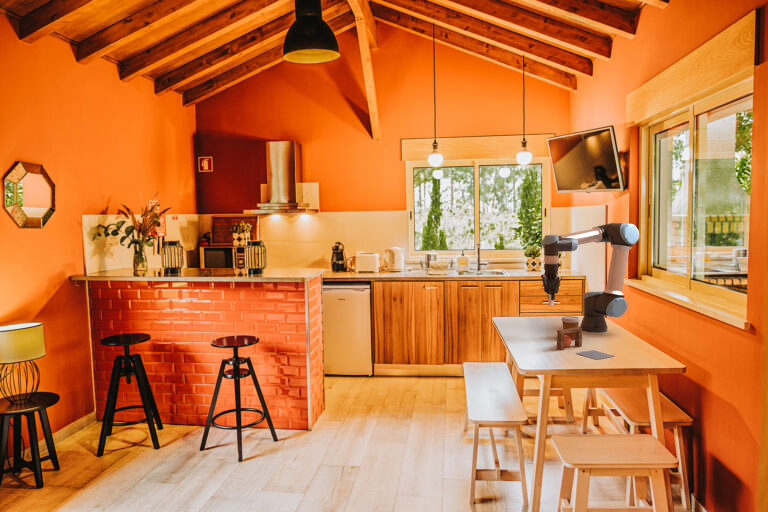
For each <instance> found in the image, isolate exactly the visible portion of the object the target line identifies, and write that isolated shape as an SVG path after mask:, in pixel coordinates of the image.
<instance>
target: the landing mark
mask: <svg viewBox="0 0 768 512" xmlns="http://www.w3.org/2000/svg"><path fill="white" fill-rule="evenodd" d="M575 353H576V354H575V355H578V354H579V355H578V356H581V355H582V357H585V358H588V357H589V359H592V360H596V361H598V359H599V360H604V358H605V359H609V358H608V357H610V358H615V357H614V356H615V355H613V354H609V353H605V352H602V351H598V350H594V349H592V350H591V349H590V350H586V351H580V352H575Z"/></svg>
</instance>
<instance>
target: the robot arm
mask: <svg viewBox="0 0 768 512" xmlns="http://www.w3.org/2000/svg"><path fill="white" fill-rule="evenodd" d="M639 239H640V231H639V229H638V228H637V226H636V225H635V224H633V223H627V222H624V223H623V222H621V223H620V222H617V223H616V222H612V223H611V222H609V223H606V224H602V225H598V226H597V225H596V226H594V227H592V228H590V229H586V230H581V231H575V232H570V233H566V234H560V235H558V234H545V236H544V237H543V239H542V241H541V246H542V248H543V263H544V264H543V269H544V273H543V274H541V275H540V278H541V279H542V285H543V290H544V293H546V294H547V300H548V304H547V305H548V307H554V306H555V299H556V294H558V293H559V290H560V285H561V281H562V279H563V276H561V275H559V273H558V271H559V253H561V252H562V253H564V252H565V253H566V252H574V251H577V250H578V248H579V245H585V244H589V243H590V244H591V243H597V244H598V243H610V247H611V248H612V252H611V255H610V256H611V257H610V263H609V269H608V275H607V282H606V286H605V287H606V288H605V290H603V291H587V292H585V293H584V296H583V297H584V298H583V318H582V320H581V323H580V327H579V328H582V331H585V332H593V333H604V332H608V325H607V321H606V319H605V318H606V317H610V318H620V317H623V315H624V314H625V313H626V312H627V309H628V302H627V300H626V299H625V294H624V292H623V290H624V283H625V277H626V276H625V275H626V271H627V264H628V258H629V251H630V250H632V249H633V246H634V245H635V244H637V242H638V241H639ZM605 316H606V317H605Z"/></svg>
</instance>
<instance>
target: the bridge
mask: <svg viewBox="0 0 768 512" xmlns="http://www.w3.org/2000/svg"><path fill="white" fill-rule="evenodd" d="M571 332H575V340H574V347H577V346H578V347H577V348H582V347H583V330H582V328H580V327H579V326H578V327H577V328H570V329H563V328H562V329H557V330H556V350H559V351H563V350H565V347H564V333H571Z"/></svg>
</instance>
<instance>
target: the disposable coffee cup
mask: <svg viewBox="0 0 768 512" xmlns="http://www.w3.org/2000/svg"><path fill="white" fill-rule="evenodd" d="M561 321H562V330H563V329H570V328H577V327H578V328H579V323H580V321H581V320H580V318H579V317H578V316H572V315H569V316H568V315H565V316H562V318H561ZM564 335H567V336H569V337H570V338H571V340H572V341H575V332H571V333H564Z"/></svg>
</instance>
